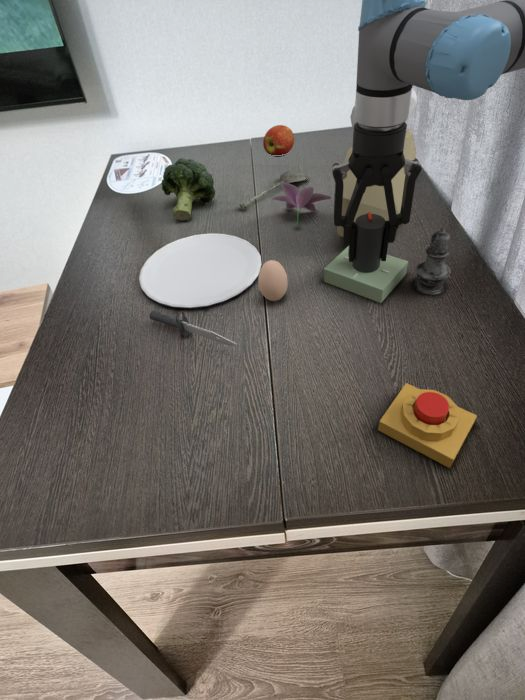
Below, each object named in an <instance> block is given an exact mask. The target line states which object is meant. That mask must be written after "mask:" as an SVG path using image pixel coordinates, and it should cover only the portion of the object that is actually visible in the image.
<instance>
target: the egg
mask: <svg viewBox="0 0 525 700" xmlns="http://www.w3.org/2000/svg"><path fill="white" fill-rule="evenodd" d="M257 278H258V279H257V282H258V289H259V291H260V293H261V294H262V296H263V297H264V299H267V300H269V301H271V302H275V301H278V300H281V299H282V298H283V297H284V296H285V294H286V292H287V290H288V286H289V282H288V281H289V280H288V275H287V272H286V270H285V268H284V267H283V265H282V264H281V263H280V262H279V261H277V260H275V259H270V260H267V261H265V262H264V264H263V265H262V266H261V269H260V273H259V276H258V277H257Z"/></svg>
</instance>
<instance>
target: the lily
mask: <svg viewBox="0 0 525 700" xmlns="http://www.w3.org/2000/svg"><path fill="white" fill-rule="evenodd" d="M280 182H281V181H280ZM280 184H281V185H280V186H281V189H282V190H283V193H284V195H277V196H273V197H272V198H271V199H272V200H274V201H280V202H285V207H286V209H287V210H292V209H295V208H296V209H297V213H296V226H297V227H296V228H297V229H299V227H300V225H299V223H300V222H299V218H300V217H299V216H300V215H299V214H300V210H301V209H302V208H304V209H307V210H309V211H311V212H313V213H316V212H317V209H316V205H315V204H314V203H317V202H320V201H327V200H331V199H332V197H331V196H329V195H326V194H322V193H317V192H315V193H314V187H313V186H308V187H305V188H302V189H300V188H299V187H298V186H296V185H294V184H291V183H285V182H281V183H280Z"/></svg>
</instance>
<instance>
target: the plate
mask: <svg viewBox="0 0 525 700" xmlns="http://www.w3.org/2000/svg"><path fill="white" fill-rule="evenodd" d="M262 266H263V265H262V256H261V254H260V252H259V250H258V249H257V247H256V246H254V245H253V244H252V243H251V242H249V241H248V240H246V239H243V238H241V237H238V236H236V235H231V234H227V233H202V234H200V233H199V234H194V235H190V236H186V237H182V238H179V239H176V240H174V241H172V242H169V243H167V244H165V245H164V246H162V247H160V248H159V249H158V250H156V251H154V252H153V253H152V255H150V256H149V257H148V258H147V259H146V260H145V262H144V264H143V265H142V267H141V268H140V272H139V277H138V280H139V285H140V289H141V290H142V291H143V292H144V294H145V295H146V296H147V297H148V298H150V299H151V300H152V301H154V302H156V303H158V304H160V305H164V306H168V307H171V308H177V309H179V308H181V309H196V308H204V307H205V308H206V307H210V306H214V305H217V304H221V303H224V302H227V301H229V300H230V299H233V298H234V297H237V296H239V295H241V294H242V293H243V292H244V291H246V290H248V289H249V287H251V286H253V284H254V282H255V281H256V280H257V278H259V273H260V270H261V268H262Z"/></svg>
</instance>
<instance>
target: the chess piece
mask: <svg viewBox="0 0 525 700" xmlns="http://www.w3.org/2000/svg"><path fill="white" fill-rule="evenodd" d="M445 230H446V229H445V227H444V226H443V227H441V228H440V229H439V230H436V231H434V232H433V233H432V235H431V238H430V243H429V246H428V247H427V248H426V250H425V252H426V258H425V260H423V261H420V262H419V263H417V264H416V266H415V272H416V276H417V279H416V280H414V283H413V285H414V289H415V290H416V291H418V292H420V293H421V294H424V295H427V296H428V295H429V296H435V295H439V294H442V293H443V292H444V291H445V288H446V284H445V281H446V280H447V279H448V277H450V276H451V272H452V271H451V267H450V266H449V265H448V264H447V263H445V262H446V257H447V256H448V255H449V250H448V247H449V244H450V240H451V235H450V234H449V232H448V231H445Z"/></svg>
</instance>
